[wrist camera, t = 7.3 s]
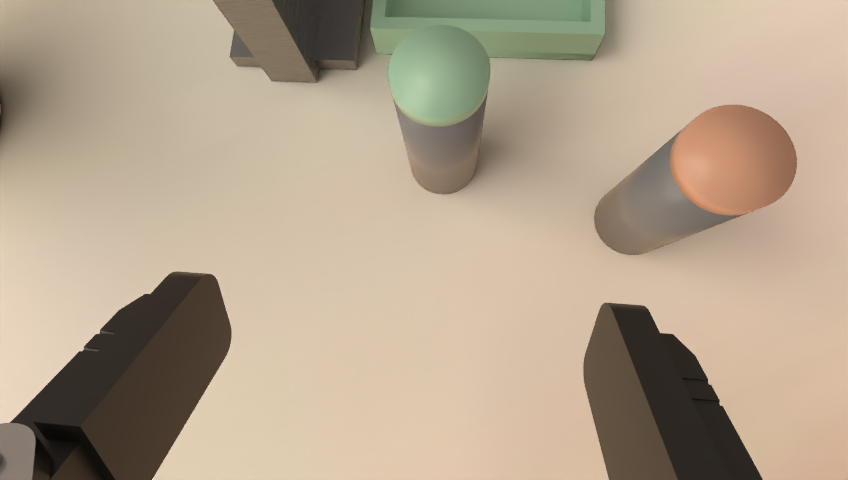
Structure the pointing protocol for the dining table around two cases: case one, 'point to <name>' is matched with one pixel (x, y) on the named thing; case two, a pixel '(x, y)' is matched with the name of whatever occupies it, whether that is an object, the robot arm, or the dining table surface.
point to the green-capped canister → (440, 103)
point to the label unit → (294, 35)
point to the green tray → (499, 25)
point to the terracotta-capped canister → (699, 180)
